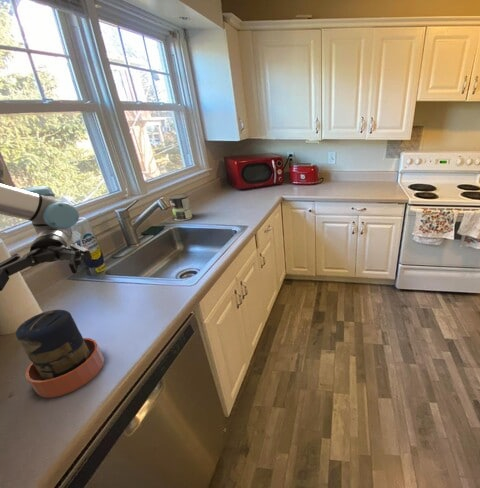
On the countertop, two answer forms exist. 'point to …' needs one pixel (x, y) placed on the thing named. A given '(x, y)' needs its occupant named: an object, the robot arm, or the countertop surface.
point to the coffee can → (180, 207)
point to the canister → (53, 343)
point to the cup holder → (68, 374)
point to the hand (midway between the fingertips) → (36, 277)
